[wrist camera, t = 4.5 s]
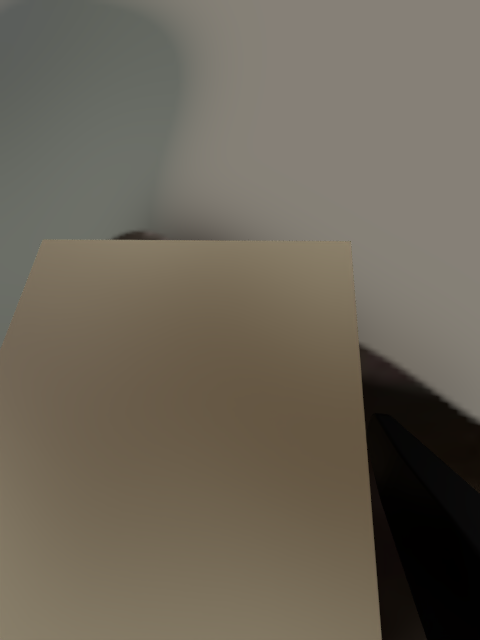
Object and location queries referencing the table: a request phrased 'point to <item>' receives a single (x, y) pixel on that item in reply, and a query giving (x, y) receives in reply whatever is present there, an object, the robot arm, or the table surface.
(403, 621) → the table surface
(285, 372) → the maple block
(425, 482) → the robot arm
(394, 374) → the table surface
